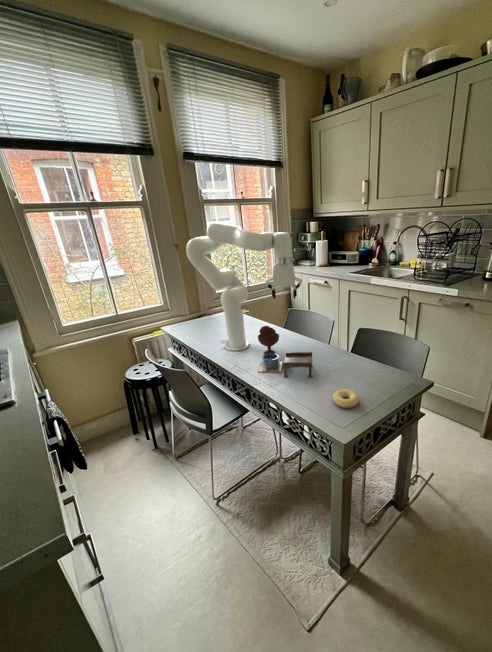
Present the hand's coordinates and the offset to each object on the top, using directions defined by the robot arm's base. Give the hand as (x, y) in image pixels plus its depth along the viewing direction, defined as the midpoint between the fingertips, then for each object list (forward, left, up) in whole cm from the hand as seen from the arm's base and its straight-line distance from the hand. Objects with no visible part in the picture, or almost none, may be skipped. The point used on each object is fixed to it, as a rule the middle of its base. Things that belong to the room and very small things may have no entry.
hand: (284, 298), depth 151 cm
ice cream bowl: (-9, -2, -28) cm, 30 cm away
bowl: (-6, -18, -28) cm, 34 cm away
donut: (+26, -46, -28) cm, 60 cm away
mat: (-6, -18, -28) cm, 34 cm away
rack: (+7, -22, -28) cm, 37 cm away
